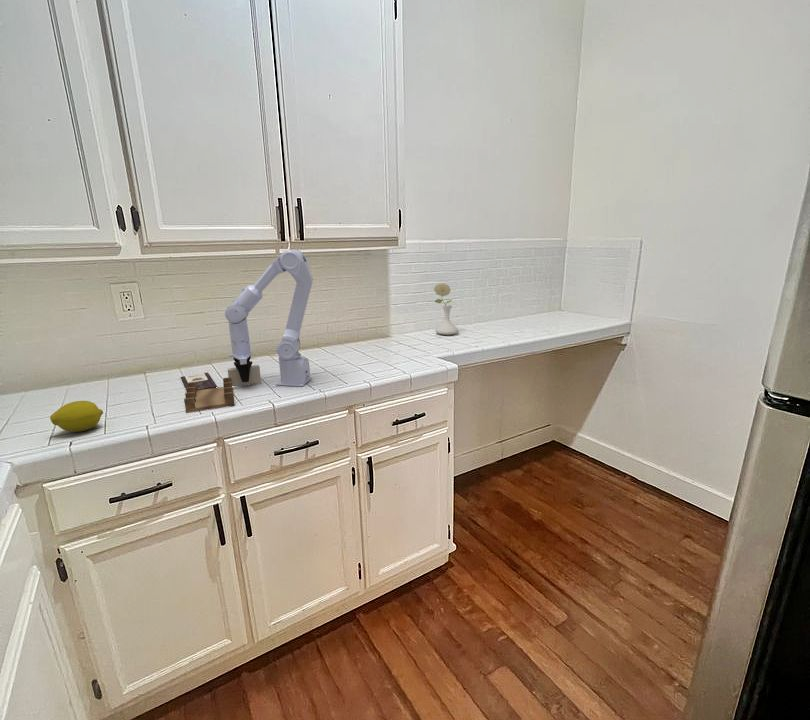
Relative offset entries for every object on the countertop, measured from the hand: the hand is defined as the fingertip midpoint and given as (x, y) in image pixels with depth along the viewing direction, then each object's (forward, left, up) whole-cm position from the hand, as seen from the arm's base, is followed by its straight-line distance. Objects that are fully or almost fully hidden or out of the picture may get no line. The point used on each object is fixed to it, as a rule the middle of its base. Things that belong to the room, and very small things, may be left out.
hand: (244, 379), depth 147 cm
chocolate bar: (+17, +1, -2) cm, 17 cm away
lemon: (+24, +40, -2) cm, 47 cm away
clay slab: (0, 0, -2) cm, 2 cm away
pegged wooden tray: (+3, +15, -2) cm, 15 cm away
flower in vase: (-60, -84, -2) cm, 103 cm away
